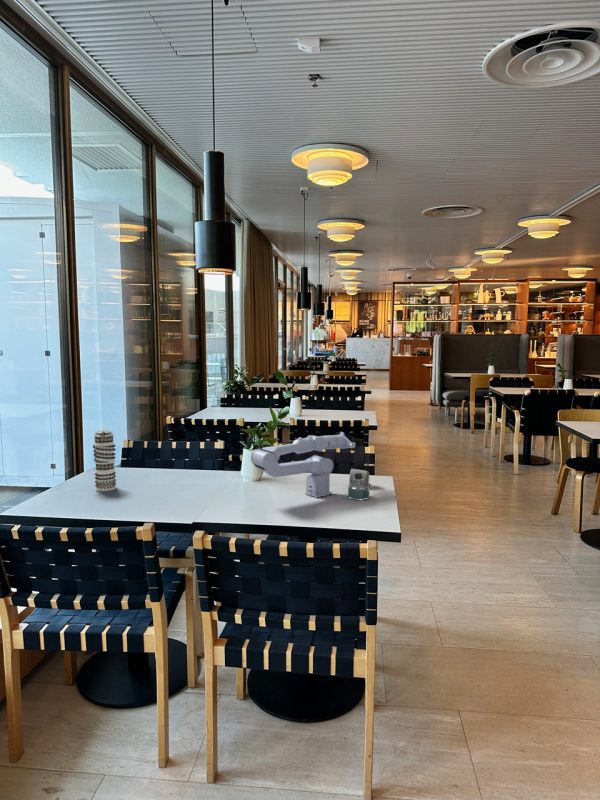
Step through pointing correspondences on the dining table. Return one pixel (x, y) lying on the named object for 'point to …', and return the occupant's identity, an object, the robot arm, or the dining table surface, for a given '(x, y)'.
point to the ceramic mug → (364, 475)
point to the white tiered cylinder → (104, 461)
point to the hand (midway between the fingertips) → (357, 440)
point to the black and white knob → (358, 478)
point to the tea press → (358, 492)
